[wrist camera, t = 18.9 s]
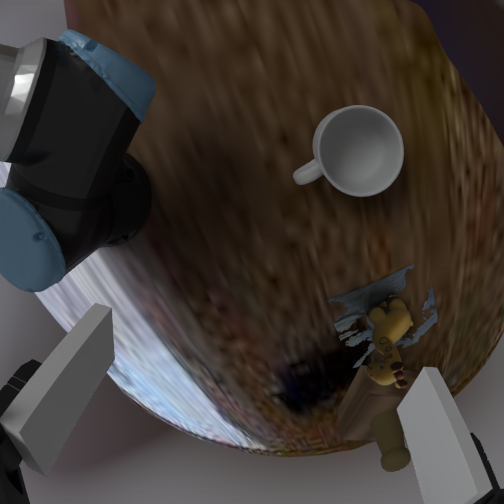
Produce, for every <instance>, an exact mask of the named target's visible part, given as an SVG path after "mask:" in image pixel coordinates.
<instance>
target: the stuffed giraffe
mask: <svg viewBox="0 0 504 504" xmlns="http://www.w3.org/2000/svg"><path fill="white" fill-rule="evenodd" d="M413 266H414V265H413V264H412V265H410V266H408V267H406V268H404V269H402V270H400V271H398V272H396V273H394V274H392V275H390V276H388V277H386V278H384V279H382V280H379V281H377V282H374V283H372V284H370V285H368V286H365V287H362V288H359V289H357V290H355V291H352V292H349V293H347V294H344V295H340V296H338V297H335V298H332V299H330V300H327V301H329V304H331V301H336V302H337V301H339V302H341V303H344V302H345V305H344V307H348V312H347V313H345V314H343V315H342V316H339V317H338V318H337V319H336V320H335V321H333V324H334V326H335V328H336V330H337V331H338V332H339V331H341V332H342V331H343V330H348V328H351V327H349V326H350V325H352V324H353V323H354V322H356V321H355V320H356V319H357V318H358V317H361V316H363V315H365V313H366V312H367V318H366V319H367V323H368V325H369V327H368V328H367V329H366V330H364V331H363V332H361V333H358V334H357V335H356V336H354V337H352V336H351V334H353V333H355V332H357V331H358V330H356V331H353V332H352V331H351V332H350V331H349V332H348V333H345V334H344V335H341V337H340V336H339V338H340V341H341V340H342V339H343V338H346V337H347V336H351V338H352V339H351V338H350V339H349V340H350V342H348V341H346V343H348V344H346V345H348V346H354V345H355V344H357V345H359V343H360V342H361V341H362V340H363V339H364V341H365V339H366V338H367V337H369V338H368V339H367V340H369V341H370V340H372V343H371V344H370V346H369V347H368V349H369V350H368V351H367V354H366V353H365V354H366V355H365V354H364V355H365V356H367V355H368V354H369V353H370V352H371V351H373V350H374V349H375V347H376V349H377V350H378V351H379V352H380V353H381V354H383V355H384V357H385V360H384V361H375V362H371V363H369V364H368V366H367V373H368V375H369V377H370V378H371V379H372V380H374V381H375V382H377V383H378V384H380V385H390V384H392V383H393V382H395V386H396V387H397V388H406V387H407V386H408V383H407V381H406V378H405V377H404V374H403V372H402V371H401V370H402V369H403V363H402V361H401V358H400V355H399V352H398V350H397V349H396V348H397V347H395V346H396V345H400V344H404V346H403V348H405V347H407V346H408V345H412V344H414V343H416V342H418V341H419V337H420V336H421V335H424V334H425V332H426V331H427V330H428V329H429V328H430V327H431V326H432V325H433V324H434V323H436V322H437V320H436V319H438V318H437V317H438V316H437V311H436V307H435V310H434V311H433V309H432V310H431V311H430V312H429V313H431V312H432V314H433V313H434V315H432V316H431V317H430V318H429V319H428V320H427V319H425V318H426V317H424V318H423V319H425V320H426V321H425V323H424V324H423V325H421V326H420V328H418V329H417V332H416V333H415V334H413V336H414V338H413V339H412V341H411V340H410V338H405V339H408V340H405V341H404V340H399V339H404V338H401V337H402V336H403V335H404V334H405V333H406V331H408V329H409V327H410V326H413V321H412V320H411V315H410V313H409V311H408V310H407V309H406V306H405V304H404V302H403V301H402V300H400V299H399V298H398V297H389V296H390V295H394V294H395V293H396V294H398V293H400V292H401V291H402V290H403V288H404V287H405V286H407V285H406V284H405V283H406V281H405V280H404V279H405V278H406V277H405V276H404V275H405V272H406V271H407V269H411V270H412V268H413ZM431 287H432V285H431ZM405 289H406V288H405ZM428 292H430V294H429V297H428V300H427V301H426V302H425V305H424V308H423V309H421V310H424V311H425V309H426V308H427V309H429V307H430V305H433V306H434V304H435V299H434V294H433V290H432V289H431V291H430V290H429V291H428ZM388 297H389V298H388ZM383 301H386V302H387V306H388V307H383V308H382V307H380V306H377V305H379V304H380V303H382V302H383ZM433 306H432V307H433ZM429 313H428V314H429ZM423 314H424V312H423ZM429 316H430V315H429ZM435 320H436V321H435ZM434 321H435V322H434ZM409 334H410V333H409ZM405 336H406V335H405ZM403 342H405V343H403ZM345 352H346V351H345ZM365 356H363V357H362V358H361V359H360V360H359V361H358V362H357V363H356V364H355V365H354V366H353V368H356V367H358V366H360V365H361V364H362V362H363V360H364V359H365ZM363 358H364V359H363Z"/></svg>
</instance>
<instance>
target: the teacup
mask: <svg viewBox="0 0 504 504" xmlns="http://www.w3.org/2000/svg"><path fill="white" fill-rule="evenodd" d="M313 154H314V160H312V161H311V162H309V163H308V164H306V165H304V166H303V167H301V168H299V169H298V170H296V171H295V172H294V174H293V178H294V180H295V182H296V183H297V184H298V185H304V184H307V183H310V182H312V181H314V180H316V179H317V178H319V177H320V176H322V175H325V177H326V178H327V179H328V181H329V182H330V183H331V184H332V185H333V186H334V187H335V188H337V189H338V190H340V191H341V192H343V193H345V194H348V195H351V196H357V197H365V196H372V195H375V194H378V193H380V192H382V191H384V190H385V189H386V188H388V187H389V186H390V185H391V184H392V183H393V182H394V180H395V179H396V178H397V176H398V174H399V172H400V170H401V167H402V164H403V158H404V146H403V141H402V137H401V134H400V132H399V130H398V128H397V126H396V125H395V123H394V122H393V121H392V120H391V119H390V118H389V117H388V116H387V115H386V114H384V113H383V112H381V111H379V110H377V109H375V108H373V107H369V106H363V105H353V106H349V107H345V108H342V109H339V110H336V111H334V112H332V113H330V114H329V115H327V116H326V117H325V118H324V119H323V120H322V121H321V122H320V124H319V125H318V127H317V129H316V131H315V134H314V138H313Z"/></svg>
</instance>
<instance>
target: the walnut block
mask: <svg viewBox="0 0 504 504" xmlns="http://www.w3.org/2000/svg"><path fill="white" fill-rule="evenodd" d="M401 371H402V372H403V374H404V377H405V378H406V381H407V383H408V386H407V387H406V388H397V387H396V386H395V382H393V383H392V384H390V385H380V384H378V383H377V382H375V381H374V380H372V379H371V378H370V377H369V375H368V373H367V366H363V365H361V366H360V368H359V370H358V372H357V374H356V376H355V378H354V380H353V382H352V384H351V385H350V387H349V389H348V391H347V393H346V395H345V396H344V398H343V400H342V402H341V403H340V405H339V407H338V409H337V415H338V421H339V428H340V435H341V440H365V441H376V439H375V437H374V434H373V432H372V430H371V427H370V421H371V420H372V419H373V417H375V416H376V415H378V414H379V413H381V412H384V411H389V410H396V411H397V408H398V406H399V405H400V403H401V402H402V400H403V399H404V397H405V396H406V394H407V393H408V391H409V390H410V388H411V387H412V385H413V384H414V382H415V380H416V379H417V377H418V376H419V373H418V371H413V370H401ZM402 429H403V428H402ZM403 434H404V431H403Z"/></svg>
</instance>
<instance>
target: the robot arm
mask: <svg viewBox="0 0 504 504" xmlns="http://www.w3.org/2000/svg"><path fill="white" fill-rule="evenodd" d="M58 40H59V41H54V40H50V39H47V38H44V37H40V38H38V39H36V40H34V41H32V42H31V43H29V44H27V45H25V46H23V47H21V48H15V47H11V46H7V45H3V44H0V161H1V162H8V163H12V164H11V168H10V172H9V175H8V179H7V183H6V186H5V187H2V188H0V273H1V274H2V276H3V277H4V278H5V279H6V280H8V281H9V282H10V283H11V284H12V285H14V286H15V287H17V288H19V289H21V290H24V291H27V292H41V291H44V290H46V289H47V288H49V287H50V286H52V285H54V284H55V283H58V282H59V281H61V280H62V279H63V277H64V276H65V275H66V274H67V273H69V272H70V271H71V270H72V269H73V268H75V267H76V266H77V265H78V264H80V263H81V262H82V261H83V260H84V259H86V258H87V257H88V256H89V255H91V254H92V253H93V252H94V251H96V250H97V249H98V248H102V247H111V246H117V245H120V244H122V243H124V242H126V241H128V240H129V239H131V238H132V237H133V236H134V235H136V234H137V233H138V232H139V231H140V230H141V228H142V227H143V226H144V224H145V222H146V220H147V218H148V216H149V212H150V208H151V189H150V185H149V181H148V178H147V176H146V174H145V172H144V170H143V168H142V167H141V166H140V164H139V163H138V162H137V161H136V160H135V159H134V158H133V157H132V156H130V155H129V154H127V153H126V151H127V149H128V147H129V145H130V143H131V141H132V139H133V137H134V135H135V133H136V131H137V129H138V127H139V125H140V124H143V122H144V115H145V113H146V111H147V109H148V107H149V105H150V103H151V101H152V99H153V97H154V95H155V91H156V85H155V81H154V79H153V78H152V76H151V75H150V74H149V73H147V72H146V71H145V70H143V69H142V68H140V67H139V66H137V65H136V64H134V63H133V62H131V61H129V60H128V59H126V58H125V57H123V56H121V55H120V54H118V53H116V52H114V51H113V50H111V49H109V48H107V47H105V46H104V45H102V44H98V43H97V42H96V41H94V40H92V39H90V38H88V37H87V36H85V35H83V34H81V33H79V32H76V31H74V30H70V29H69V30H66V31H65V32H64V33H63V34H62V35H60V36H59V38H58ZM114 359H115V355H114V341H113V324H112V308H110V307H107V306H104V305H101V304H97V303H95V304H94V305H93V306H92V307H91V308H90V309H89V311H88V312H87V313H86V314H85V315H84V316H83V317H82V318H81V319H80V321H79V322H78V323H77V324H76V325H75V326H74V327H73V329H72V330H71V331H70V332H69V333H68V334H67V335H66V337H65V338H64V339H63V340H62V341H61V343H60V344H59V345H58V346H57V347H56V348H55V349H54V351H53V352H52V353H51V354H50V355H49V357H48V358H47V359H46V360H45V361H44V363H43V364H42V363H40V362H38V361H36V360H31V361H29V362H27V363H25V364H24V365H22V366H21V367H20V368H19V369H18V370H17V371H16V372H15V374H14V375H13V377H11V378H10V380H9V381H8V382H7V385H5V386H4V387H3V388H2V389H1V390H0V504H30V502H29V499H28V495H27V492H26V488H25V484H24V481H23V477H22V473H21V469H20V467H19V464H20V463H21V461H22V459H23V460H24V462H25V463H26V465H27V466H28V467H29V468H31V469H33V470H34V471H36V472H38V473H40V474H41V475H43V476H45V477H47V475H48V473H49V471H50V469H51V468H52V466H53V464H54V462H55V460H56V458H57V456H58V455H59V453H60V451H61V449H62V447H63V446H64V444H65V442H66V440H67V438H68V437H69V435H70V433H71V431H72V429H73V428H74V426H75V424H76V422H77V421H78V419H79V417H80V416H81V414H82V412H83V411H84V409H85V407H86V405H87V404H88V402H89V400H90V399H91V397H92V395H93V394H94V392H95V390H96V389H97V387H98V385H99V384H100V382H101V380H102V379H103V377H104V375H105V374H106V372H107V371H108V369H109V367H110V366H111V364H112V363H113V361H114ZM397 412H398V415H399V418H400V421H401V424H402V428H403V431H404V434H405V437H406V440H407V444H408V447H409V450H410V454H411V457H412V461H413V464H414V467H415V471H416V475H417V478H418V482H419V486H420V489H421V493H422V497H423V501H424V504H504V489H500V487H499V485H498V483H497V480H496V477H495V475H494V473H493V470H492V468H491V465H490V463H489V461H487V456H486V454H485V453H484V449H483V447H482V445H481V443H480V441H479V440H478V439H477V437H476V436H475V435H474V434H473V433H469V431H468V429H467V427H466V424H465V422H464V420H463V418H462V416H461V414H460V412H459V410H458V408H457V406H456V404H455V402H454V400H453V398H452V396H451V394H450V392H449V390H448V388H447V386H446V384H445V382H444V380H443V378H442V376H441V374H440V373H439V371H438V369H437V368H433V367H423V369H422V371H421V372H420V374H419V376H418V377H417V379H416V380H415V382H414V384H413V385H412V387H411V388H410V390H409V391H408V393H407V394H406V396H405V397H404V399H403V400H402V402H401V403H400V405H399V406H398V408H397Z"/></svg>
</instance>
